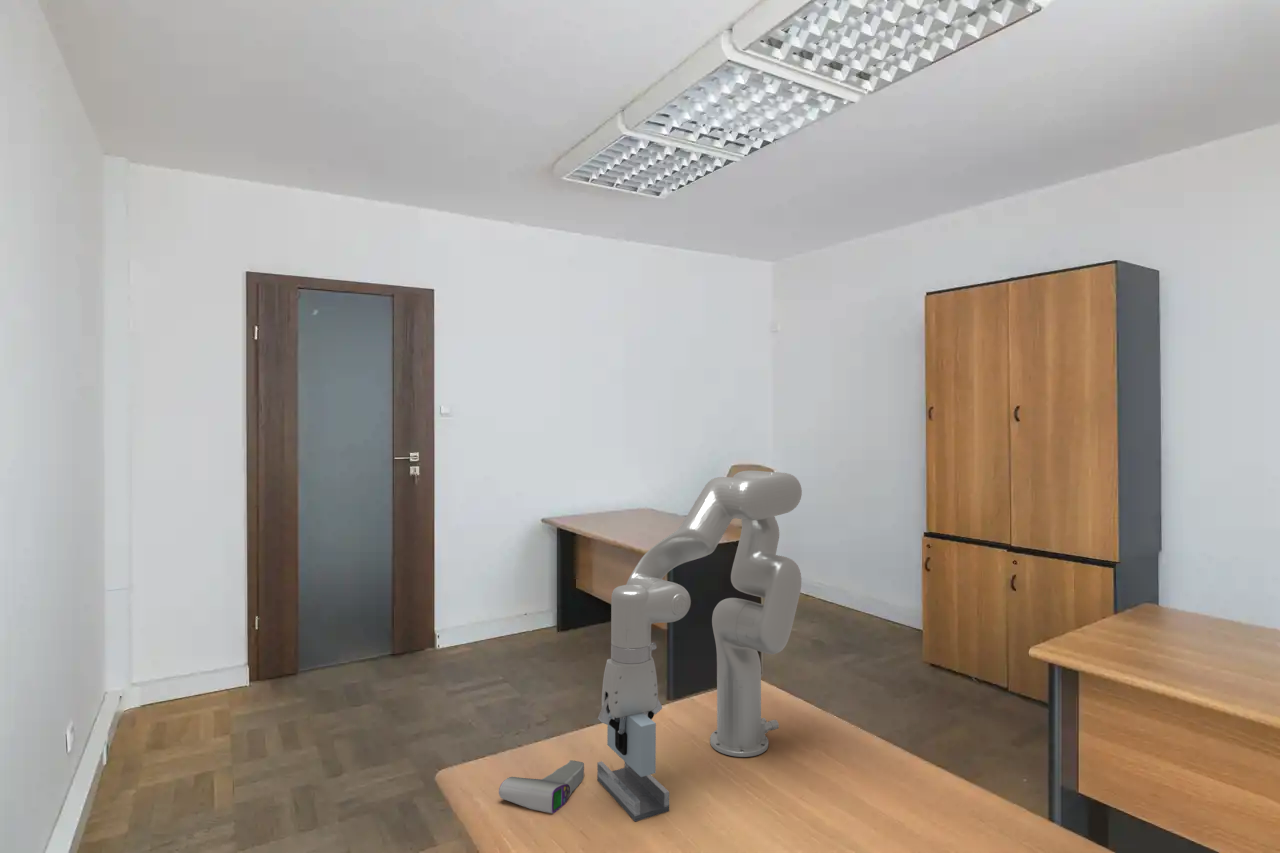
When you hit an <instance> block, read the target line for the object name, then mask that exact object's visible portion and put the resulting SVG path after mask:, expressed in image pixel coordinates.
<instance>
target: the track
mask: <svg viewBox="0 0 1280 853" xmlns="http://www.w3.org/2000/svg"><path fill="white" fill-rule="evenodd" d="M596 765H597V766H596V767H597V776H596V778H597V781H598V783H599V784H600V785H601V786H602V787H603V788H604V789H605V790H606V791H607V793H609V795H610V796H611V797H612V798H613V799H614V800H615V802H616V803H618V805H620V807H621V808H622V809H623V810H624V811H625V812H626V814H627V815H628V816H629V817H630V818H631V819H632V820H633V821H634V822H638V821H642V820H645V819H649V818H651V817H655V816H658V815H661V814H664V813H668V812H670V791H669V790H668V789H667V788H666V787H665V786H664V785H663V784H662V783H661V782H659V781H658V780H657V779H656V778H655V776H653V774H650V775H647V776H643V777H640V776H639V775H638V774H637V773H636V772H635V771H634V770H633V769H632V768H631V767H630V766H629V765H628V764H627V763H626V762H625V761H624V767H622V768H619V769H615V770H611V769H610V768H609V767H608V766H607V764H606V763H604V762H603V761H602V760H601V761H597V762H596Z"/></svg>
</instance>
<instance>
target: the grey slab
mask: <svg viewBox="0 0 1280 853" xmlns="http://www.w3.org/2000/svg"><path fill="white" fill-rule="evenodd" d="M609 717H611V715H610V713H609ZM612 718H613V717H612ZM656 727H657V724H656V722H655V721H654V720H653V719H650V718H648V717H647V716H646V715H645V714H643V713H639V714H635V715H630V716H627V717H626V721H625V733H626V734H627V754H626V755H622V754H621V753H620V752H619V751H618V750H617V749H616V747H615V729H614V728H613V727H611V726H610V725H607V732H606V733H607V739H606V740H607V742H606V743H607V744H606V745H607V746H608V747H609V748H610V749H611V750H612V751H614V753H615V754H616V755H617V756H619V758H621V760H623V762H624V763H625V762H626V763H627V764H628V765H629V766H630V767H631V768H632V769H633V770H634V771H635V772H636V773H637V774H638V775H639V776H640V777H643V776H647V775H650V774H651V775H653V774H656V770H657V769H656V767H657V766H656V765H657V764H656V760H657V759H656V755H657V751H656V749H657V747H656V743H657V742H656V741H657V739H656V738H657V737H656V736H657V734H656V732H657V728H656Z"/></svg>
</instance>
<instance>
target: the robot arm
mask: <svg viewBox="0 0 1280 853" xmlns="http://www.w3.org/2000/svg"><path fill="white" fill-rule="evenodd" d="M802 491H803V490H802V486H801V482H800V481H799V479H798V478H797V477H796V476H794V475H793V474H792V473H787V472H779V471H778V472H777V471H776V472H775V471H766V470H765V471H763V470H743V471H739V472H738V471H737V473H735V474H734V475H733V476H719V477H714V478H712V479H710V480H709V481H707V483H706V484H705V485H704V487H703V488H702V490H701V492H700V494H699V495H698V497H697V498H696V500H695V501H694V503H693V505H692V507H691V508H690V510H689V511H688V513H687V515H686V516H685V518H684V519H683V521H682V523H681V524H680V526H679V527H678V528H677V530H675V531H674V532H673V533H671V534H669V535H667V536H666V537H665V538H663V539H662V540H660V541H659V542H658V543H656V544H655V545H653V547H651V548H650V549H649V550H647V551H646V552H645V553H644V555H643V556H642V557H641V558H640V560H639V561H638V563H637V564H636V565H635V567H634V569H633V571H632V572H631V573H630V575H629V577H628V579H627V581H626V584H623V585H618V586H617V587H615V588H613V590H612V593H611V599H610V600H611V602H610V603H611V604H610V606H611V607H610V608H611V612H610V614H611V615H610V616H611V618H610V621H611V622H610V623H611V625H610V626H611V627H610V628H611V629H610V630H611V632H610V634H611V636H610V638H611V639H610V640H611V641H610V658H607V659H606V664H605V668H604V672H603V680H602V690H601V708H600V709H601V710H600V712H599V714H598V717H597V720H598V721H599V722H600V723H601V724H604V725H606V726H608V725H610V726H611V727H613V728H614V729H615V747H616V749H617V750H618V751H619V752H620V753H621V754H622V755H626V754H627V734H626V733H625V721H626V717H627V716H630V715H635V714H639V713H643V714H645V715H646V716H647V717H648V718H650V719H651V720H653V718H654V716H655V715H657V714H658V713H659V712H660V711H661V710H662V709H663V706H662V703H661V702H660V699H659V689H658V688H659V687H658V675H657V669H656V664H655V661H654V658H653V656H652V653H653V651H655V650H656V649H657V643H656V642H652V625H653V624H659V623H662V624H663V623H674V622H678V621H679V620H682V619H683V618H684V617H685V616H686V615H687V614H688V612H689V610H690V608H691V604H692V603H691V602H692V600H691V595H690V593H689V592H688V590H687V589H686V588H685V587H684V586H683V585H681V584H680V583H679V584H678V583H677V582H673V581H668V580H665V579H663V578H664V577H665V576H666V575H667V574H668V573H669V572H670V571H672V570H673V569H674V568H676V567H678V566H680V565H683V564H685V563H688V562H691V561H694V560H697V559H701V558H705V557H707V556H708V555H711V554H713V552H715V550H716V549H717V546H718V545H719V543H720V541H721V539H722V538H723V535H724V534H725V533H726V531H727V529H728V527H729V525H730V524H731V522H732V521H733V519H736V520H738V519H739V520H741V532H740V535H739V540H738V546H737V548H736V551H735V552H736V553H735V556H734V559H733V563H732V568H731V572H730V582H731V585H732V586H733V588H734V589H735V590H737V591H739V592H741V593H744V594H747V595H751V596H755V597H759V598H762V599H764V603H758V602H756V601H752V600H747V599H743V598H737V597H727V598H725V599H722V600H720V601H719V602H718V603H717V604H716V606H715V607H714V609H713V611H712V614H711V615H712V617H711V625H712V631H713V636H714V641H715V648H716V710H717V711H716V724H717V725H716V726H717V727H716V729H715V730H714V731H713V732H712V733H711V734H710V737H709V743H710V745H711V747H712V748H713V749H714V750H715V751H717V752H719V753H720V754H723V755H726V756H731V757H737V758H749V757H755V756H758V755H761V754H763V753H765V751H767V750H768V748H769V738H768V736H766V734H767V733H768V732H770V731H774V730H778V729H779V726H780V723H779V722H778V720H777V719H772V720H768V721H767V719H766V717H762V664H761V659H760V655H759V653H758V652H760V653H764V654H768V655H775V654H778V653H780V652H782V651H783V650H784V649H785V647H786V646H787V644H788V642H789V640H790V637H791V632H792V630H793V629H792V628H793V625H794V621H795V615H796V613H797V607H798V604H799V599H800V595H801V589H802V573H801V569H800V568H799V565H798V564H797V563H796V562H795V560H793V559H792V558H790V557H787V556H782V555H778V554H777V552H778V544H779V539H780V527H779V524H778V522H777V519H776V516H780V515H784V514H787V513H790V512H792V511H794V509H796V508H797V507H798V505H799V503H800V502H801V500H802V496H803V494H802V493H803V492H802ZM609 713H610V715H611V717H609ZM612 717H613V718H612Z"/></svg>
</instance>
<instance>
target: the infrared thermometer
mask: <svg viewBox="0 0 1280 853" xmlns="http://www.w3.org/2000/svg"><path fill="white" fill-rule="evenodd" d="M584 771H585V764H584V762H583V761H579V760H572V759H570V760H569V761H568V762H567V763H566V764H565V765H562V766H561V767H558V768H557V769H556V770H554V771H553V772H552V773H550V774H549V775H547V776H545V777H544V778H542V779H541V778H527V777H525V778H524V777H516V776H509V777H507V778H506V779H504V780H503V781H502V783H501V784H500V786H499V788H498V795H499V797H500V798H501V799H502V800H504V801H508V802H509V803H513V804H515V805H517V806H518V805H519V806H520V807H521V806H522V807H523V808H527V809H529V810H532V811H537V812H538V811H539V812H543V813H548V814H551V815H552V814H555V813H556V812H558V811H559V810H560V809H561V808H562V807H563V806H565V805H566V803H567V802H568V799H569V797H570V796H572V795H571V794H572V793H573V792H574V791H575V790H576V789H577V787H579V785H580V784H581V782H583V779H584V777H585V772H584Z"/></svg>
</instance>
